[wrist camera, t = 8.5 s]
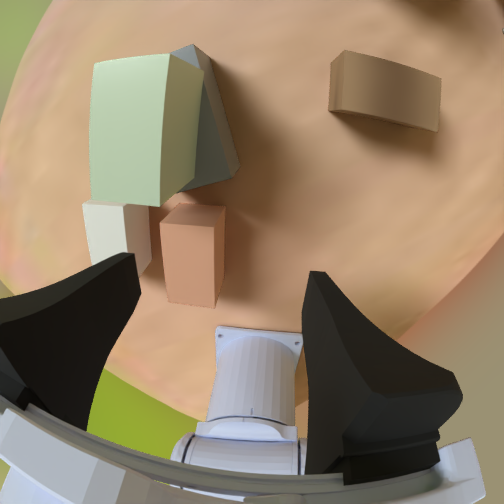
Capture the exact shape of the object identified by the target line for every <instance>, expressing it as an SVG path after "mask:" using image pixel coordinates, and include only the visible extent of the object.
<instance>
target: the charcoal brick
mask: <svg viewBox="0 0 504 504" xmlns="http://www.w3.org/2000/svg"><path fill="white" fill-rule="evenodd" d="M168 54H172V55H174V56H176V57H178V58H180V59H182V60H184V61H186V62H188V63H190V64H192V65H193V66H195V67H197V68H199V69H201V70H203V71H204V78H203V86H202V95H201V104H200V113H199V124H198V135H197V147H196V160H195V175H194V179H192V180H191V181H190V182H189V183H187V184H186V185H185V186H184V187H183V188H181V189H180V190H179V191H178V192H177V193H179V192H183V191H186V190H190V189H193V188H197V187H201V186H204V185H208V184H212V183H216V182H219V181H223V180H227V179H231V178H232V177H233V176H234V174H235V173H236V172H237V170H238V169H239V168H240V163H239V159H238V156H237V152H236V149H235V145H234V142H233V138H232V134H231V131H230V127H229V124H228V120H227V117H226V113H225V110H224V106H223V103H222V99H221V96H220V92H219V89H218V85H217V82H216V78H215V75H214V71H213V68H212V65H211V61H210V58H209V56H208V55H206V54H205V53H204V52H203V51H201V50H200V49H199V48H197V47H196V46H195V45H194V44H192V45H189V46H186V47H184V48H181V49H179V50H176V51H173V52H171V53H168ZM175 194H176V193H175Z"/></svg>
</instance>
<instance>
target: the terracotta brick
mask: <svg viewBox="0 0 504 504" xmlns="http://www.w3.org/2000/svg"><path fill="white" fill-rule="evenodd" d="M160 236H161V247H162V257H163V266H164V275H165V283H166V291H167V298H168V302H170V303H177V304H184V305H191V306H199V307H206V308H214V309H215V306H216V303H217V300H218V296H219V293H220V290H221V287H222V283H223V280H224V251H225V206H219V205H204V204H188V203H179V204H178V205H177V206H176V207H175V208H174V209H173V210H172V211H171V212H170V213H169V214H168V215H167V216H166V217H165V218H164V219H163V220H162V221H161V222H160Z"/></svg>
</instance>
